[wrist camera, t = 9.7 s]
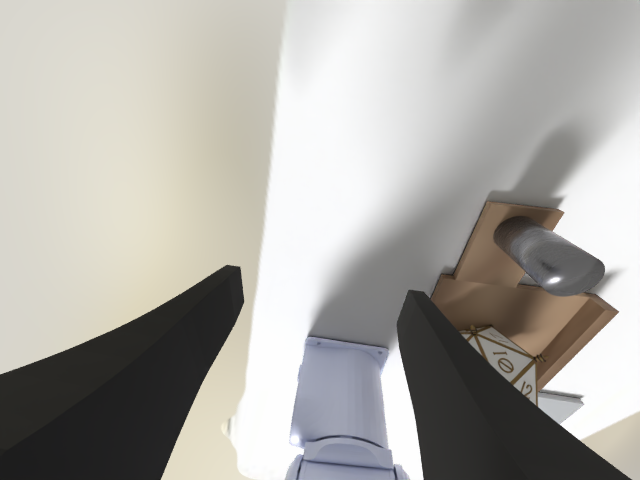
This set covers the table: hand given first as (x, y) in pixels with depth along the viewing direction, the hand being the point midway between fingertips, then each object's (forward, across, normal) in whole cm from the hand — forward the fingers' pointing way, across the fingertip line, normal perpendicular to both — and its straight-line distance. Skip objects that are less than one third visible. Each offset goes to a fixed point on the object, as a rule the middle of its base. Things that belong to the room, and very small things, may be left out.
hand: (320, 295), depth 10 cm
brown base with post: (+10, -17, +7) cm, 21 cm away
